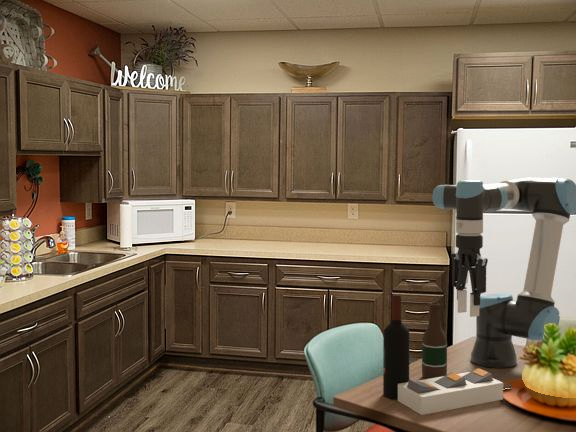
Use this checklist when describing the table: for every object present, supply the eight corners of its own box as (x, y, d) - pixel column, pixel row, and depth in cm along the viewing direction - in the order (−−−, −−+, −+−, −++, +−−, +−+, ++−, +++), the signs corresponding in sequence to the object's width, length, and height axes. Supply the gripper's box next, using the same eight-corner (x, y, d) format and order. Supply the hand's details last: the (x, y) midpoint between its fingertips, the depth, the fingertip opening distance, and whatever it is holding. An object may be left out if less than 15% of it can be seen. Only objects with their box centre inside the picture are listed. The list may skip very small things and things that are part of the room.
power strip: (496, 383, 209) (496, 367, 209) (524, 395, 198) (524, 378, 198) (397, 400, 195) (397, 383, 194) (421, 415, 184) (421, 397, 183)
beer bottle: (447, 381, 211) (447, 306, 209) (421, 380, 212) (422, 305, 210) (446, 373, 218) (447, 301, 216) (421, 372, 220) (422, 300, 218)
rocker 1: (424, 390, 195) (426, 382, 195) (437, 396, 189) (439, 388, 189) (407, 386, 192) (409, 378, 192) (419, 393, 187) (421, 384, 187)
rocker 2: (453, 378, 199) (451, 371, 198) (466, 385, 193) (464, 377, 193) (436, 388, 196) (434, 380, 196) (449, 394, 191) (447, 387, 190)
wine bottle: (392, 401, 194) (392, 299, 192) (378, 393, 201) (378, 294, 199) (414, 397, 197) (414, 296, 195) (399, 389, 204) (400, 291, 202)
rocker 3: (479, 374, 202) (477, 367, 202) (492, 380, 197) (491, 373, 196) (463, 383, 200) (461, 376, 200) (476, 389, 195) (474, 382, 194)
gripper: (439, 231, 200) (438, 309, 202) (479, 238, 183) (478, 322, 185) (460, 230, 203) (459, 306, 205) (501, 236, 186) (499, 319, 188)
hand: (468, 313), depth 195 cm, fingers open, 5 cm apart
